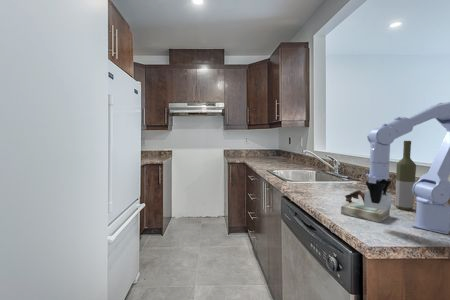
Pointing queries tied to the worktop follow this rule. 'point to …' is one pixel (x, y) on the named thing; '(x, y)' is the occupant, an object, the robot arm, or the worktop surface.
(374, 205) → the block
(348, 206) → the stand
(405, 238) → the worktop surface
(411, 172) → the bottle
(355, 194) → the broken clay pot shard
